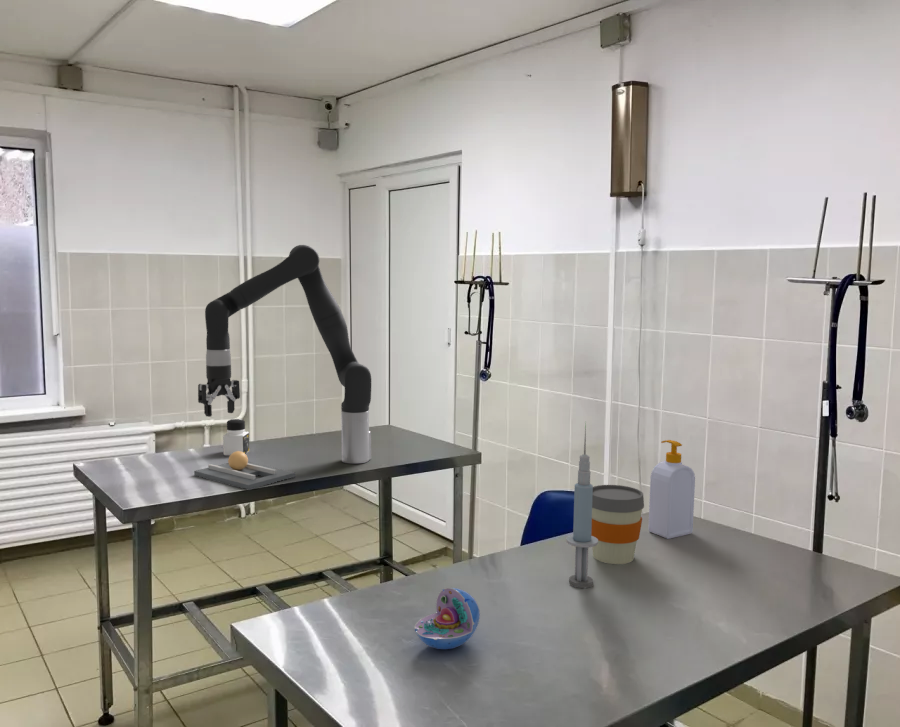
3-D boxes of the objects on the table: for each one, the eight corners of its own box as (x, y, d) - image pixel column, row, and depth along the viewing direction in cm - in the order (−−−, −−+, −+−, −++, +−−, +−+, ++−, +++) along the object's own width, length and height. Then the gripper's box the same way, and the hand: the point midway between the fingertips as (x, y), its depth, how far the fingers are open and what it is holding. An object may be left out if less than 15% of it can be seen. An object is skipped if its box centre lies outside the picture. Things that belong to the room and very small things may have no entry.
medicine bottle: (243, 455, 263) (242, 421, 262) (223, 455, 264) (222, 421, 262) (249, 451, 270) (248, 417, 269) (229, 450, 271) (228, 417, 269)
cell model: (401, 645, 130) (401, 591, 129) (455, 625, 137) (455, 574, 136) (438, 668, 122) (439, 611, 121) (493, 646, 130) (494, 592, 129)
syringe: (597, 588, 154) (601, 419, 150) (565, 587, 155) (568, 418, 151) (596, 578, 159) (599, 415, 156) (565, 577, 160) (568, 414, 157)
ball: (240, 466, 242) (239, 448, 242) (252, 469, 239) (251, 451, 238) (224, 470, 238) (223, 451, 237) (236, 473, 234) (236, 454, 233)
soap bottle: (671, 525, 194) (675, 436, 191) (692, 533, 188) (697, 442, 185) (645, 531, 189) (649, 440, 187) (666, 539, 183) (670, 446, 181)
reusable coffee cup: (575, 559, 170) (577, 493, 168) (598, 543, 180) (600, 481, 179) (629, 571, 163) (632, 503, 161) (650, 554, 173) (652, 490, 172)
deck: (241, 464, 252) (241, 456, 251) (295, 477, 236) (295, 468, 236) (194, 475, 237) (194, 467, 237) (248, 490, 222) (248, 480, 222)
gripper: (206, 366, 232) (207, 419, 234) (244, 362, 243) (245, 412, 245) (191, 364, 236) (193, 416, 238) (229, 360, 248) (230, 410, 250)
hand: (219, 414), depth 242 cm, fingers open, 8 cm apart
